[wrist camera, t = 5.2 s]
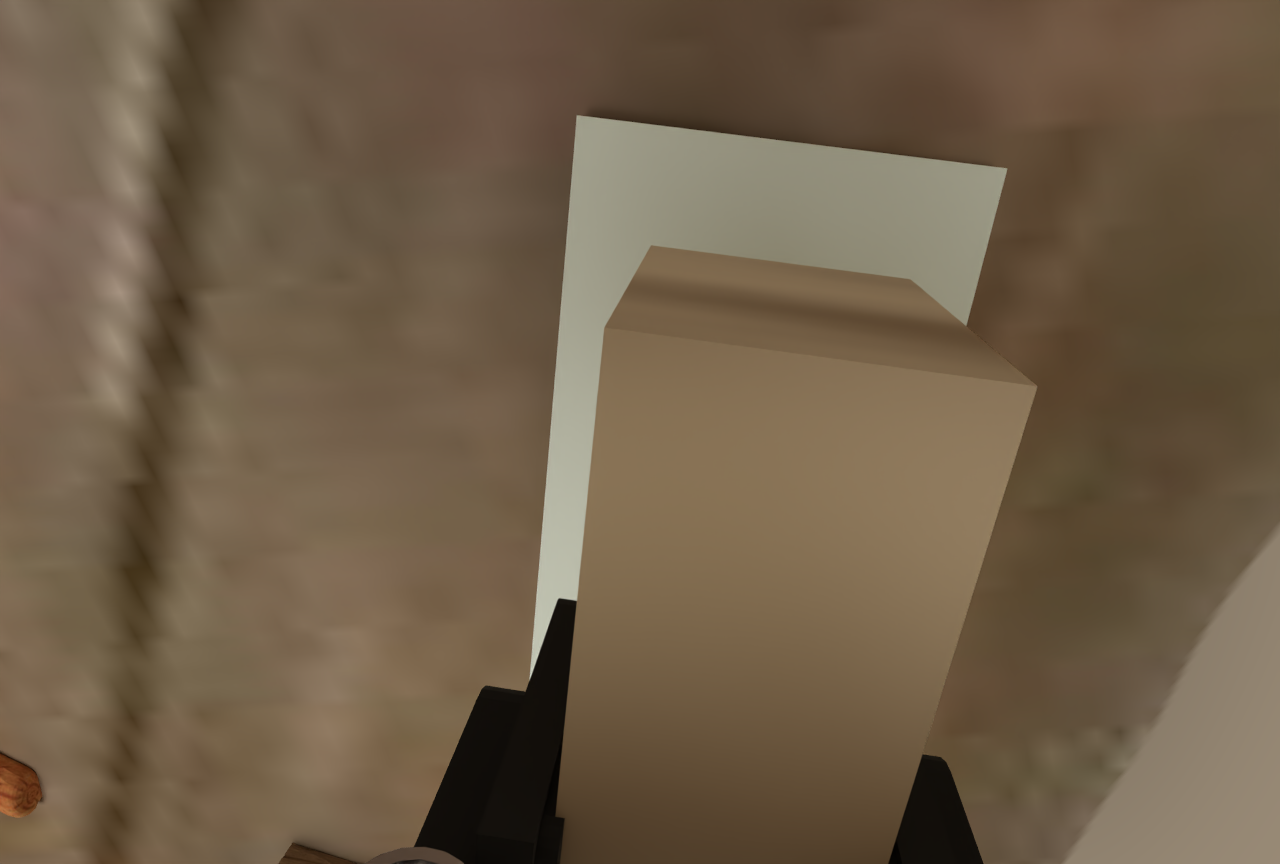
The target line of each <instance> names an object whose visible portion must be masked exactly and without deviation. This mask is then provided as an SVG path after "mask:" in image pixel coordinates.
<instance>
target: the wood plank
mask: <svg viewBox="0 0 1280 864" xmlns="http://www.w3.org/2000/svg"><path fill="white" fill-rule="evenodd" d="M279 864H356V863H353V862H350V861H347V860H344V859H341V858H338V857H334V856H331V855H328V854H325V853H322V852H318V851H315V850H312V849H309V848H306V847H303V846H300V845H297V844H294V843H292V845H291V846H290V847H289V849H288V850H287V852H286V853H285V856H284V857H283V858H282V859H281V861H280V862H279Z"/></svg>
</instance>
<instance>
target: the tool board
mask: <svg viewBox="0 0 1280 864" xmlns="http://www.w3.org/2000/svg"><path fill="white" fill-rule="evenodd" d="M1006 172H1007V168H1000V167H992V166H984V165H975V164H967V163H959V162H951V161H943V160H935V159H927V158H919V157H911V156H903V155H895V154H887V153H878V152H870V151H862V150H854V149H846V148H838V147H830V146H822V145H814V144H806V143H798V142H789V141H781V140H773V139H765V138H757V137H749V136H741V135H733V134H725V133H717V132H709V131H701V130H692V129H684V128H676V127H668V126H660V125H652V124H644V123H636V122H628V121H620V120H612V119H603V118H595V117H587V116H579V115H577V120H576V132H575V144H574V156H573V168H572V180H571V192H570V204H569V216H568V228H567V240H566V252H565V264H564V276H563V288H562V299H561V311H560V323H559V335H558V347H557V359H556V371H555V383H554V395H553V407H552V419H551V431H550V443H549V455H548V467H547V479H546V491H545V503H544V514H543V526H542V538H541V550H540V562H539V574H538V586H537V598H536V610H535V622H534V634H533V646H532V658H531V670H530V678H531V675H532V672H533V669H534V666H535V664H536V661H537V658H538V655H539V652H540V649H541V646H542V643H543V640H544V637H545V635H546V632H547V629H548V626H549V623H550V620H551V617H552V614H553V611H554V608H555V605H556V603H557V600H558V599H559V598H562V599H569V600H575V601H577V595H578V585H579V575H580V565H581V555H582V545H583V535H584V525H585V515H586V505H587V495H588V485H589V475H590V465H591V455H592V445H593V435H594V425H595V415H596V405H597V395H598V385H599V375H600V365H601V355H602V345H603V335H604V327H605V325H606V324H607V322H608V320H609V318H610V317H611V315H612V313H613V311H614V310H615V308H616V306H617V304H618V302H619V301H620V299H621V297H622V295H623V294H624V292H625V290H626V288H627V287H628V285H629V283H630V281H631V280H632V278H633V276H634V274H635V273H636V271H637V269H638V267H639V266H640V264H641V262H642V260H643V259H644V257H645V255H646V253H647V251H648V250H649V248H650V246H651V245H653V246H661V247H668V248H676V249H683V250H691V251H699V252H706V253H714V254H722V255H729V256H737V257H745V258H752V259H760V260H768V261H775V262H783V263H791V264H798V265H806V266H814V267H821V268H829V269H836V270H844V271H852V272H859V273H867V274H875V275H882V276H890V277H898V278H905V279H911V280H912V281H913V282H914V283H916V284H917V285H918V286H919V287H920V288H922V289H923V290H924V291H925V292H926V293H927V294H929V295H930V296H931V297H932V298H933V299H935V300H936V301H937V302H938V303H939V304H940V305H942V306H943V307H944V308H945V309H946V310H948V311H949V312H950V313H951V314H952V315H954V316H955V317H956V318H957V319H958V320H959V321H961V322H962V323H963V324H964V325H965V326H966V325H967V322H968V318H969V314H970V310H971V306H972V302H973V299H974V295H975V291H976V287H977V283H978V279H979V276H980V272H981V268H982V264H983V260H984V256H985V253H986V249H987V245H988V241H989V237H990V233H991V230H992V226H993V222H994V218H995V214H996V210H997V207H998V203H999V199H1000V195H1001V191H1002V187H1003V184H1004V180H1005V176H1006Z"/></svg>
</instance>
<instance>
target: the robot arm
mask: <svg viewBox="0 0 1280 864" xmlns="http://www.w3.org/2000/svg"><path fill="white" fill-rule="evenodd" d="M576 605H577V601H575V600H569V599H562V598H559V599H558V600H557V603H556V605H555V608H554V611H553V614H552V617H551V620H550V623H549V626H548V629H547V632H546V635H545V637H544V640H543V643H542V646H541V649H540V652H539V655H538V658H537V661H536V664H535V666H534V669H533V672H532V675H531V678H530V681H529V684H528V687H527V690H526V692H524V691H517V690H511V689H504V688H498V687H492V686H484V687H483V688H482V690H481V692H480V694H479V696H478V698H477V700H476V703H475V705H474V707H473V710H472V712H471V714H470V717H469V719H468V721H467V724H466V726H465V728H464V731H463V733H462V736H461V738H460V740H459V743H458V745H457V747H456V750H455V752H454V754H453V757H452V759H451V761H450V764H449V766H448V768H447V771H446V773H445V775H444V778H443V780H442V783H441V785H440V787H439V790H438V792H437V794H436V797H435V799H434V801H433V804H432V806H431V808H430V811H429V813H428V815H427V818H426V820H425V822H424V825H423V827H422V830H421V832H420V834H419V837H418V839H417V841H416V844H415V846H414V847H410V848H400V849H397V850H393V851H390V852H387V853H383V854H380V855H378V856H376V857H375V858H373V859H371V860H370V861H368V862H366V863H365V864H560V859H561V850H562V840H563V831H564V821H565V818H561V817H555V815H556V805H557V795H558V785H559V775H560V765H561V755H562V745H563V735H564V725H565V715H566V705H567V695H568V685H569V675H570V665H571V655H572V645H573V635H574V625H575V615H576ZM888 864H983V861H982V858H981V856H980V853H979V850H978V847H977V844H976V841H975V839H974V836H973V833H972V830H971V827H970V825H969V822H968V819H967V816H966V813H965V811H964V808H963V805H962V802H961V799H960V796H959V794H958V791H957V788H956V785H955V782H954V780H953V777H952V774H951V771H950V769H949V767H948V765H947V763H946V762H945V761H944V760H943V759H942V758H941V757H936V756H930V755H923V754H922V757H921V760H920V764H919V767H918V770H917V773H916V776H915V780H914V783H913V786H912V789H911V792H910V796H909V799H908V802H907V805H906V808H905V812H904V815H903V818H902V821H901V824H900V827H899V831H898V834H897V837H896V840H895V843H894V847H893V850H892V853H891V856H890V859H889V863H888Z"/></svg>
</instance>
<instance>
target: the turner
mask: <svg viewBox="0 0 1280 864" xmlns="http://www.w3.org/2000/svg"><path fill="white" fill-rule="evenodd" d="M1037 387H1038V386H1036V385H1035V384H1034V383H1033V382H1032V381H1031V380H1029V379H1028V378H1027V377H1026V376H1025V375H1023V374H1022V373H1021V372H1020V371H1019V370H1018V369H1016V368H1015V367H1014V366H1013V365H1012V364H1010V363H1009V362H1008V361H1007V360H1006V359H1004V358H1003V357H1002V356H1001V355H1000V354H999V353H997V352H996V351H995V350H994V349H993V348H991V347H990V346H989V345H988V344H987V343H986V342H984V341H983V340H982V339H981V338H980V337H978V336H977V335H976V334H975V333H974V332H972V331H971V330H970V329H969V328H968V327H967V326H965V325H964V324H963V323H962V322H961V321H959V320H958V319H957V318H956V317H955V316H954V315H952V314H951V313H950V312H949V311H948V310H946V309H945V308H944V307H943V306H942V305H940V304H939V303H938V302H937V301H936V300H935V299H933V298H932V297H931V296H930V295H929V294H927V293H926V292H925V291H924V290H923V289H922V288H920V287H919V286H918V285H917V284H916V283H914V282H913V281H912V280H911V279H905V278H898V277H890V276H882V275H875V274H867V273H859V272H852V271H844V270H836V269H829V268H821V267H814V266H806V265H798V264H791V263H783V262H775V261H768V260H760V259H752V258H745V257H737V256H729V255H722V254H714V253H706V252H699V251H691V250H683V249H676V248H668V247H661V246H653V245H651V246H650V248H649V250H648V251H647V253H646V255H645V257H644V259H643V260H642V262H641V264H640V266H639V267H638V269H637V271H636V273H635V274H634V276H633V278H632V280H631V281H630V283H629V285H628V287H627V288H626V290H625V292H624V294H623V295H622V297H621V299H620V301H619V302H618V304H617V306H616V308H615V310H614V311H613V313H612V315H611V317H610V318H609V320H608V322H607V324H606V325H605V327H604V335H603V345H602V355H601V365H600V375H599V385H598V395H597V405H596V415H595V425H594V435H593V445H592V455H591V465H590V475H589V485H588V495H587V505H586V515H585V525H584V535H583V545H582V555H581V565H580V575H579V585H578V595H577V605H576V615H575V625H574V635H573V645H572V655H571V665H570V675H569V685H568V695H567V705H566V715H565V725H564V735H563V745H562V755H561V765H560V775H559V785H558V795H557V805H556V815H555V817H561V818H565V821H564V831H563V840H562V850H561V859H560V864H888V863H889V859H890V856H891V853H892V850H893V847H894V843H895V840H896V837H897V834H898V831H899V827H900V824H901V821H902V818H903V815H904V812H905V808H906V805H907V802H908V799H909V796H910V792H911V789H912V786H913V783H914V780H915V776H916V773H917V770H918V767H919V764H920V760H921V757H922V754H923V751H924V748H925V744H926V741H927V738H928V735H929V732H930V728H931V725H932V722H933V719H934V716H935V712H936V709H937V706H938V703H939V700H940V697H941V693H942V690H943V687H944V684H945V681H946V677H947V674H948V671H949V668H950V665H951V661H952V658H953V655H954V652H955V649H956V645H957V642H958V639H959V636H960V633H961V629H962V626H963V623H964V620H965V617H966V613H967V610H968V607H969V604H970V601H971V597H972V594H973V591H974V588H975V585H976V581H977V578H978V575H979V572H980V569H981V566H982V562H983V559H984V556H985V553H986V550H987V546H988V543H989V540H990V537H991V534H992V530H993V527H994V524H995V521H996V518H997V514H998V511H999V508H1000V505H1001V502H1002V498H1003V495H1004V492H1005V489H1006V486H1007V482H1008V479H1009V476H1010V473H1011V470H1012V466H1013V463H1014V460H1015V457H1016V454H1017V450H1018V447H1019V444H1020V441H1021V438H1022V435H1023V431H1024V428H1025V425H1026V422H1027V419H1028V415H1029V412H1030V409H1031V406H1032V403H1033V399H1034V396H1035V393H1036V390H1037Z"/></svg>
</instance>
